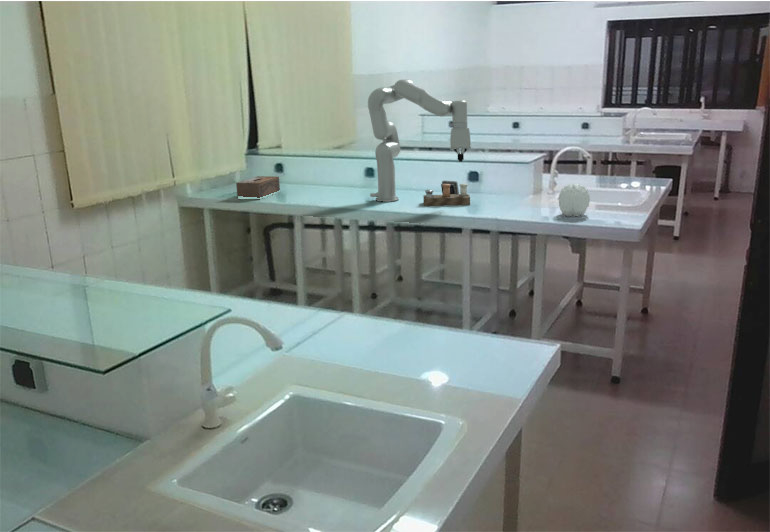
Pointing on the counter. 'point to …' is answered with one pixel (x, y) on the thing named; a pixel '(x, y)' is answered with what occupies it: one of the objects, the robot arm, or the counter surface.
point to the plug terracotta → (446, 190)
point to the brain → (574, 199)
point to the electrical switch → (451, 186)
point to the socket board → (446, 200)
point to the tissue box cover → (258, 186)
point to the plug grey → (429, 193)
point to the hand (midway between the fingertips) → (460, 161)
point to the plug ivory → (463, 189)
